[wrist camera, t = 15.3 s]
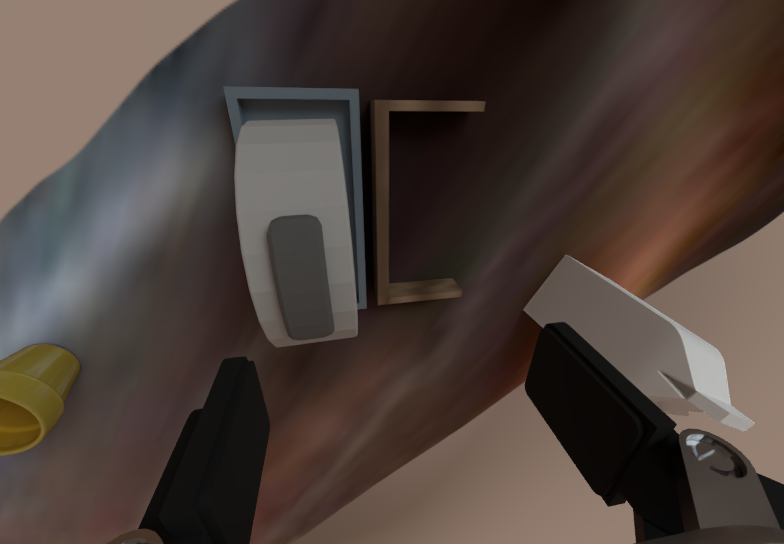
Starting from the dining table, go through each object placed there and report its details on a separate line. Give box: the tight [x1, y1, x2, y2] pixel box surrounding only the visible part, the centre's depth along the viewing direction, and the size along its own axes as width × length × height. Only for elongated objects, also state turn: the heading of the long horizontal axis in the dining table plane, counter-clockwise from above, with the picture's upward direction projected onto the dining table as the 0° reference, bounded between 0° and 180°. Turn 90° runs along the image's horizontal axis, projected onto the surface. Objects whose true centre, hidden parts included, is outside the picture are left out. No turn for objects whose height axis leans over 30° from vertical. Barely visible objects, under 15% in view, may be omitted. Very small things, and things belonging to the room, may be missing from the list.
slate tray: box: [223, 86, 367, 309], centre depth 39 cm, size 13×27×3 cm, turn 0°
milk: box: [523, 254, 755, 432], centre depth 44 cm, size 12×12×26 cm
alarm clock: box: [234, 119, 358, 347], centre depth 31 cm, size 21×8×20 cm, turn 1°
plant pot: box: [0, 344, 80, 455], centre depth 38 cm, size 10×10×10 cm
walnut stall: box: [370, 100, 485, 305], centre depth 41 cm, size 12×25×4 cm, turn 0°
